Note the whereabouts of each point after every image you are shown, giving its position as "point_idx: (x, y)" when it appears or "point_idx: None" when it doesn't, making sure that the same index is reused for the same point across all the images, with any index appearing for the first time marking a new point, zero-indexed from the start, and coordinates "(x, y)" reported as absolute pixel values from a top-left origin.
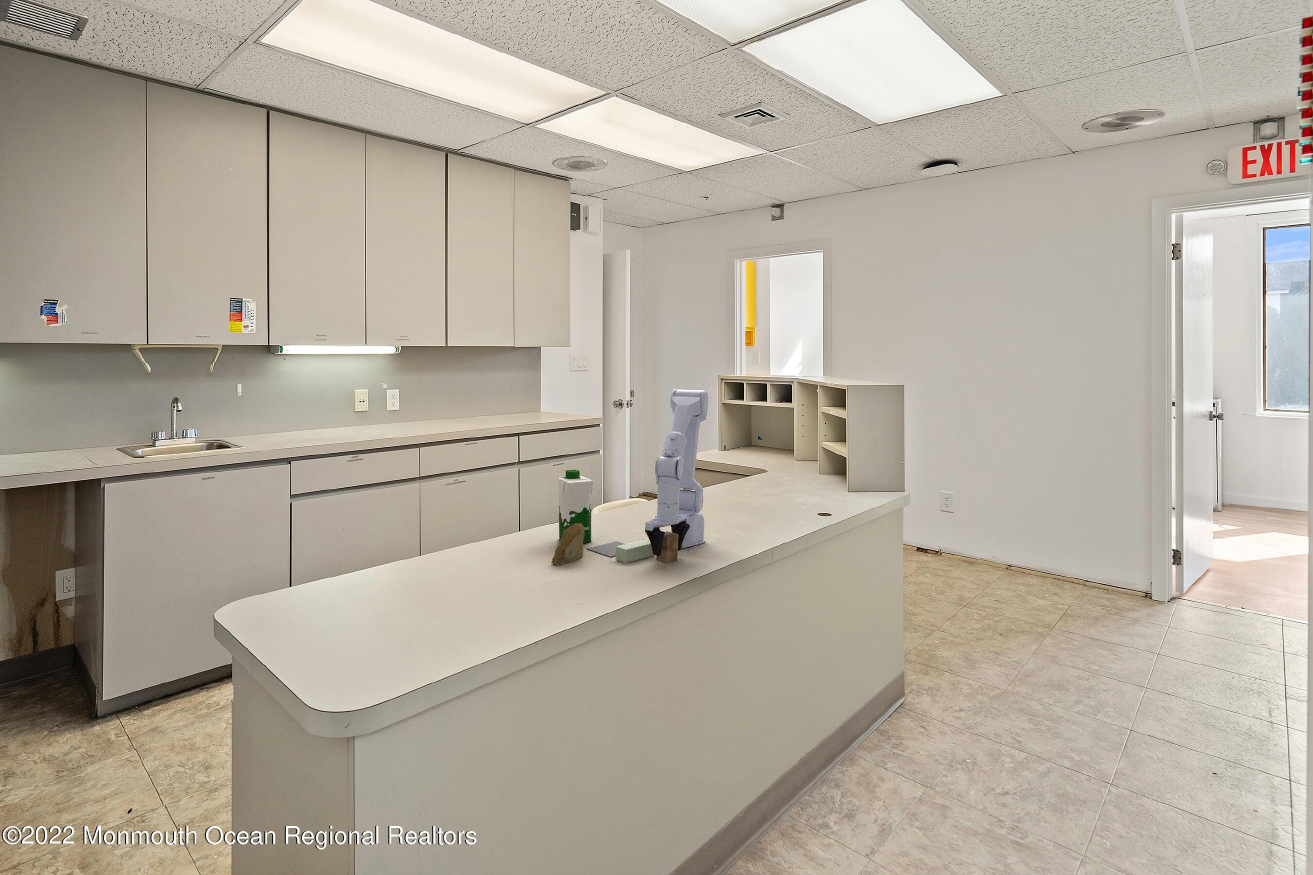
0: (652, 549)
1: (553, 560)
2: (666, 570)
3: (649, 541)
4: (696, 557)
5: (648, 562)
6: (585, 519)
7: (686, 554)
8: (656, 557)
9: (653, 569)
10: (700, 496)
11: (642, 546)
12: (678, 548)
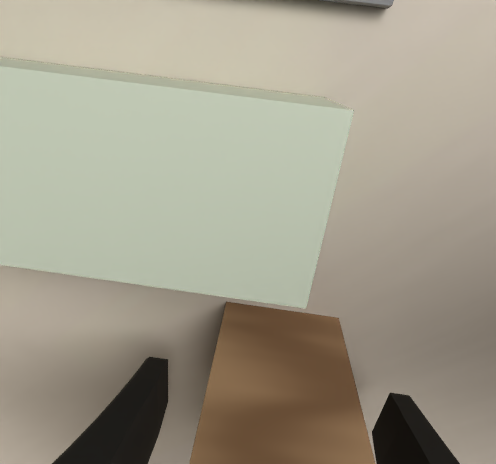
0: (121, 393)
1: None
2: None
3: (319, 241)
4: None
5: (135, 300)
6: None
7: (470, 382)
8: (224, 314)
9: (71, 381)
10: None
11: (119, 273)
12: (379, 447)
